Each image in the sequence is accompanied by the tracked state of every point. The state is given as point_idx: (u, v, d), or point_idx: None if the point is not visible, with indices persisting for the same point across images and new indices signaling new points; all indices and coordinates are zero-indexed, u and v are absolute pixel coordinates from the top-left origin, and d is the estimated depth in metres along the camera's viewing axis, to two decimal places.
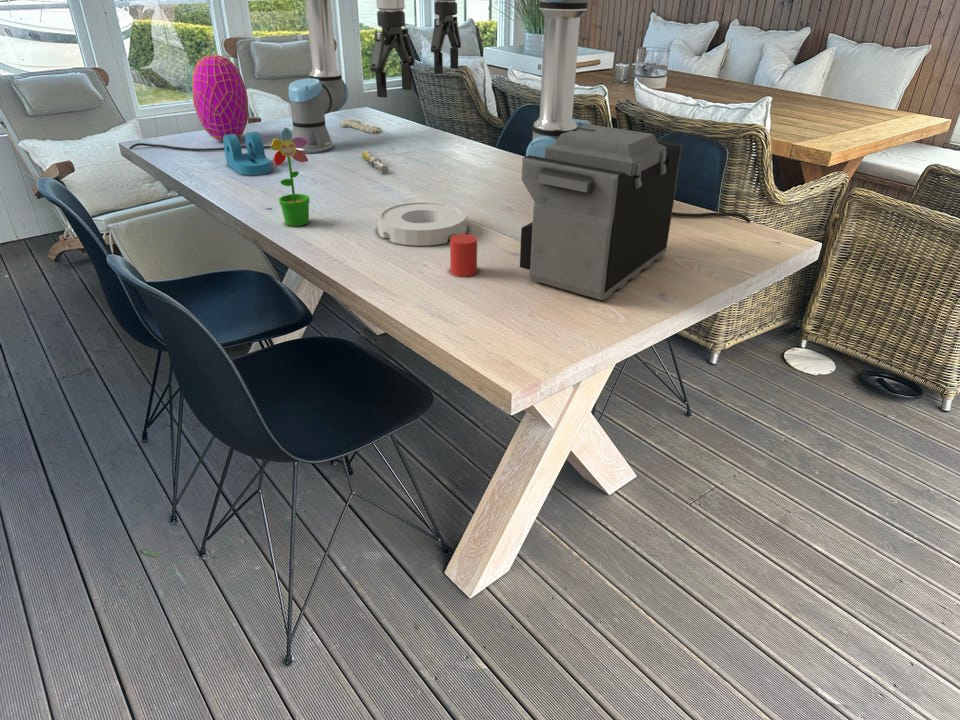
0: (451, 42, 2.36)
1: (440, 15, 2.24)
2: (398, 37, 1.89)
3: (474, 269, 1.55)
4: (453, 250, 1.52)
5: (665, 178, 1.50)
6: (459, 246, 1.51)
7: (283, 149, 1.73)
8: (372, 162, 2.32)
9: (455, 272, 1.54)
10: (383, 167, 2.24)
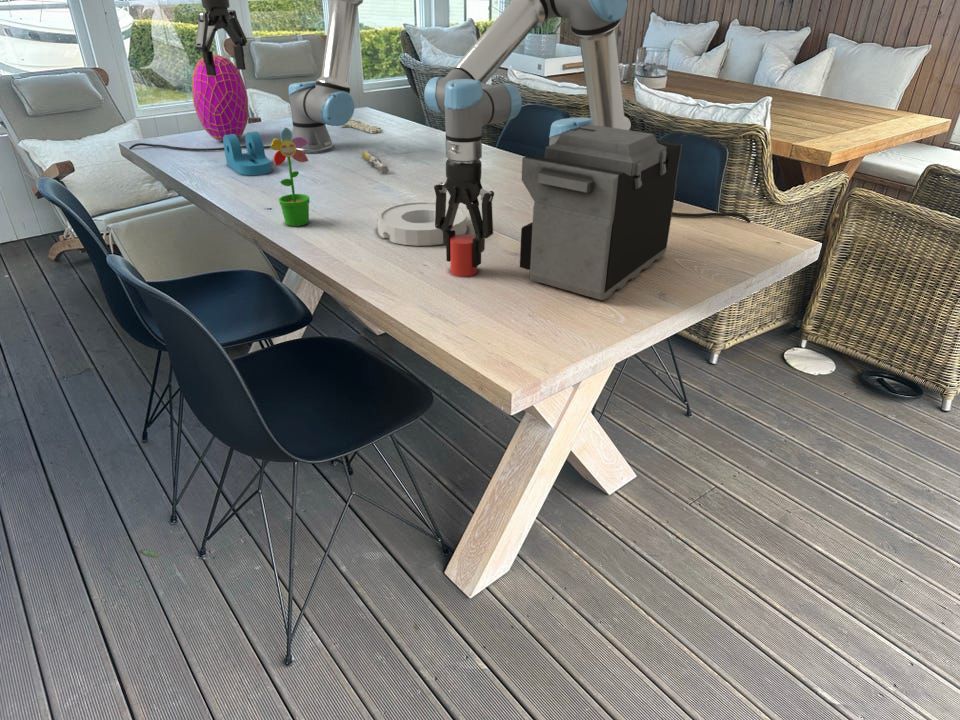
0: (233, 39, 2.08)
1: (206, 8, 1.96)
2: None
3: (474, 269, 1.55)
4: (453, 250, 1.52)
5: (665, 178, 1.50)
6: (459, 246, 1.51)
7: (283, 149, 1.73)
8: (372, 162, 2.32)
9: (455, 272, 1.54)
10: (383, 167, 2.24)
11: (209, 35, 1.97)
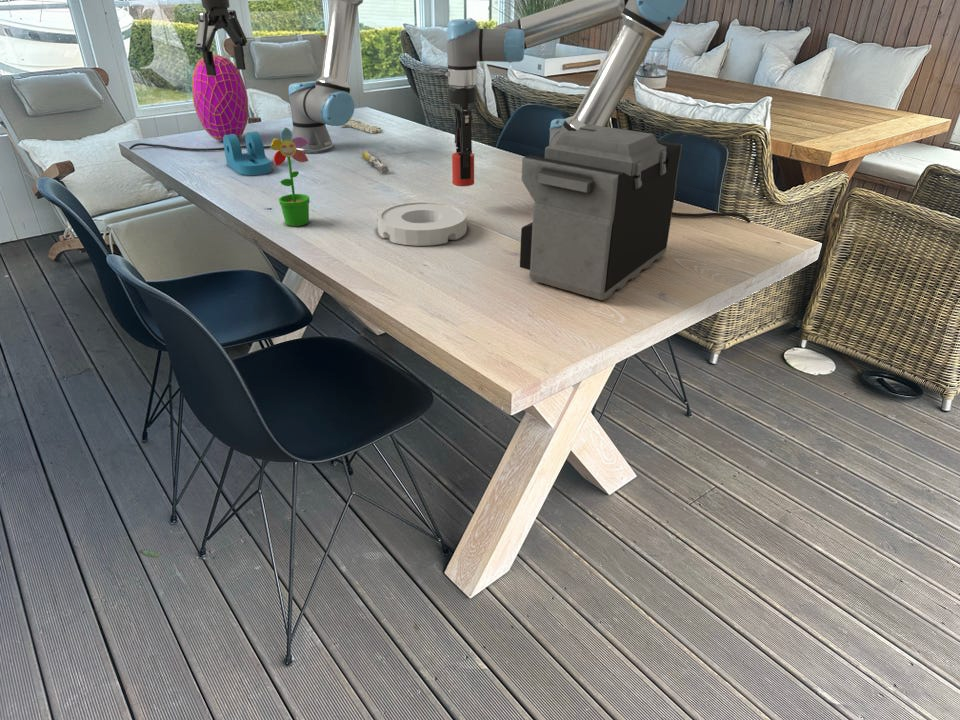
0: (233, 39, 2.08)
1: (206, 8, 1.96)
2: None
3: (463, 181, 1.87)
4: None
5: (665, 178, 1.50)
6: (452, 158, 1.86)
7: (283, 149, 1.73)
8: (372, 162, 2.32)
9: None
10: (383, 167, 2.24)
11: (209, 35, 1.97)
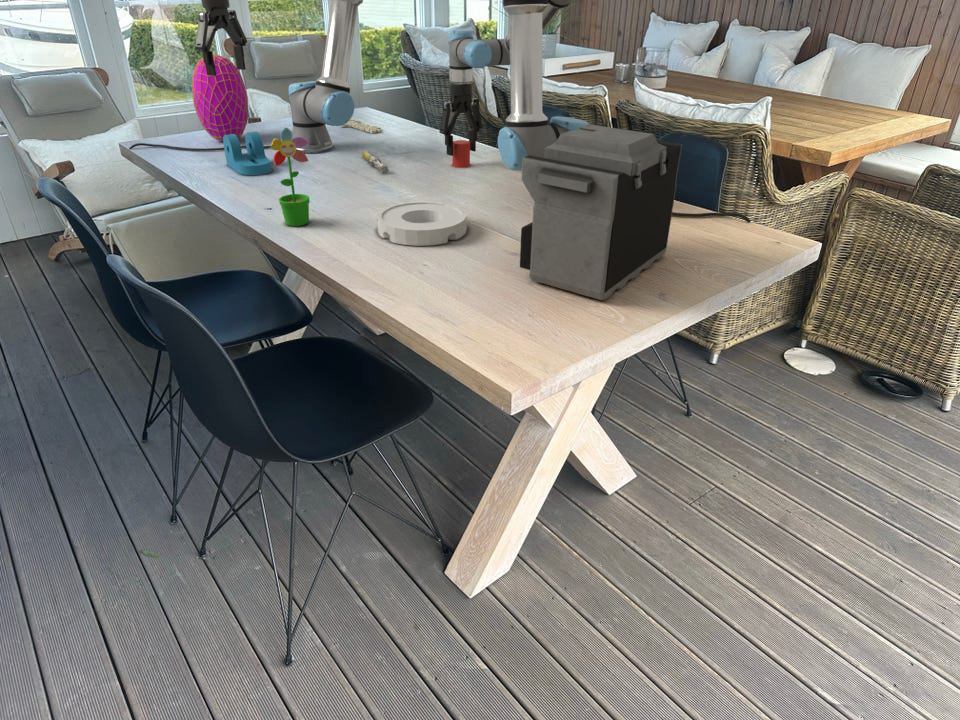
0: (233, 39, 2.08)
1: (206, 8, 1.96)
2: (465, 104, 2.25)
3: (453, 163, 2.34)
4: None
5: (665, 178, 1.50)
6: None
7: (283, 149, 1.73)
8: (372, 162, 2.32)
9: None
10: (383, 167, 2.24)
11: (209, 35, 1.97)
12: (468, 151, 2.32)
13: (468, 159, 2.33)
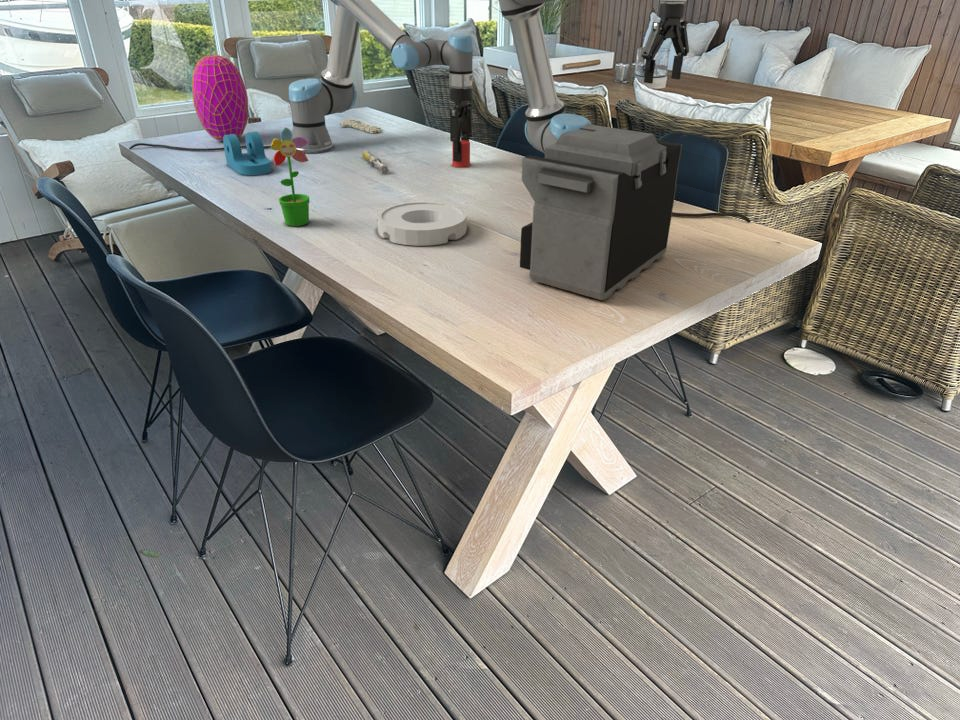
0: (462, 129, 2.33)
1: (455, 101, 2.22)
2: (675, 28, 2.02)
3: (453, 163, 2.34)
4: None
5: (665, 178, 1.50)
6: None
7: (283, 149, 1.73)
8: (372, 162, 2.32)
9: None
10: (383, 167, 2.24)
11: (458, 127, 2.26)
12: (468, 151, 2.32)
13: (468, 159, 2.33)
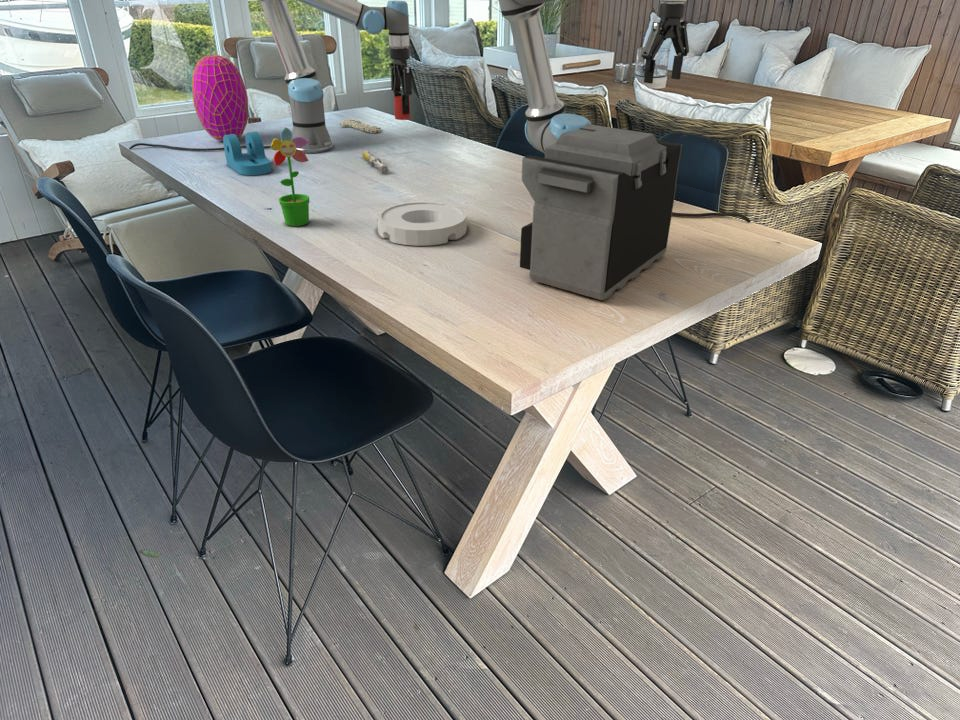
0: (396, 86, 2.64)
1: (403, 60, 2.54)
2: (675, 28, 2.02)
3: (401, 116, 2.65)
4: None
5: (665, 178, 1.50)
6: (394, 99, 2.64)
7: (283, 149, 1.73)
8: (372, 162, 2.32)
9: None
10: (383, 167, 2.24)
11: None
12: None
13: None
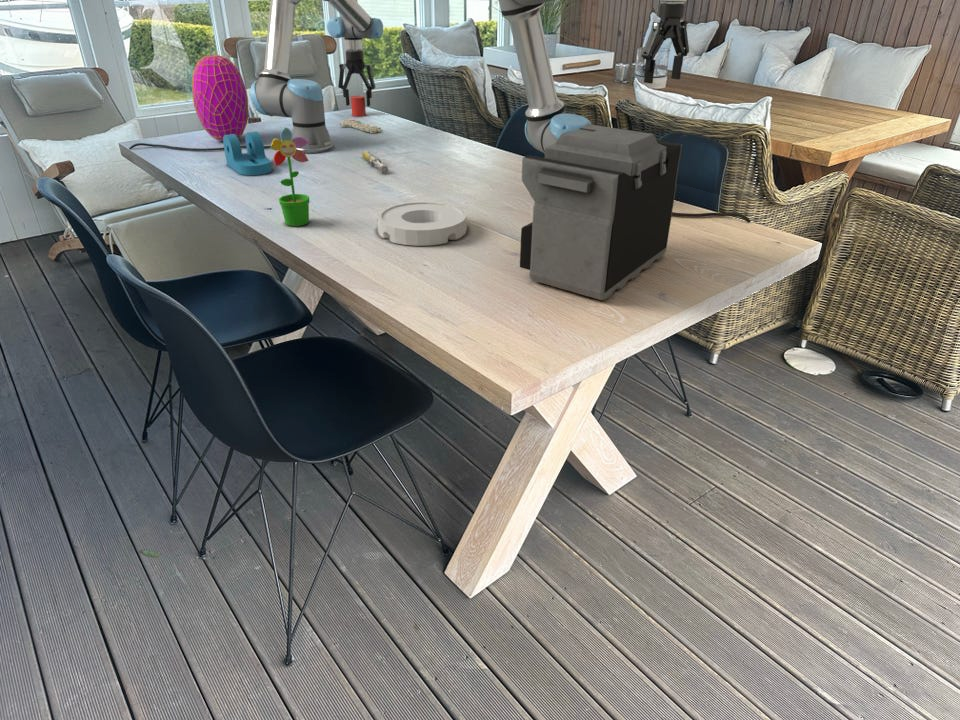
0: (347, 84, 3.01)
1: (363, 60, 2.95)
2: (675, 28, 2.02)
3: (363, 113, 3.05)
4: (351, 102, 3.03)
5: (665, 178, 1.50)
6: (353, 99, 3.01)
7: (283, 149, 1.73)
8: (372, 162, 2.32)
9: (353, 114, 3.05)
10: (383, 167, 2.24)
11: (366, 79, 3.00)
12: None
13: None
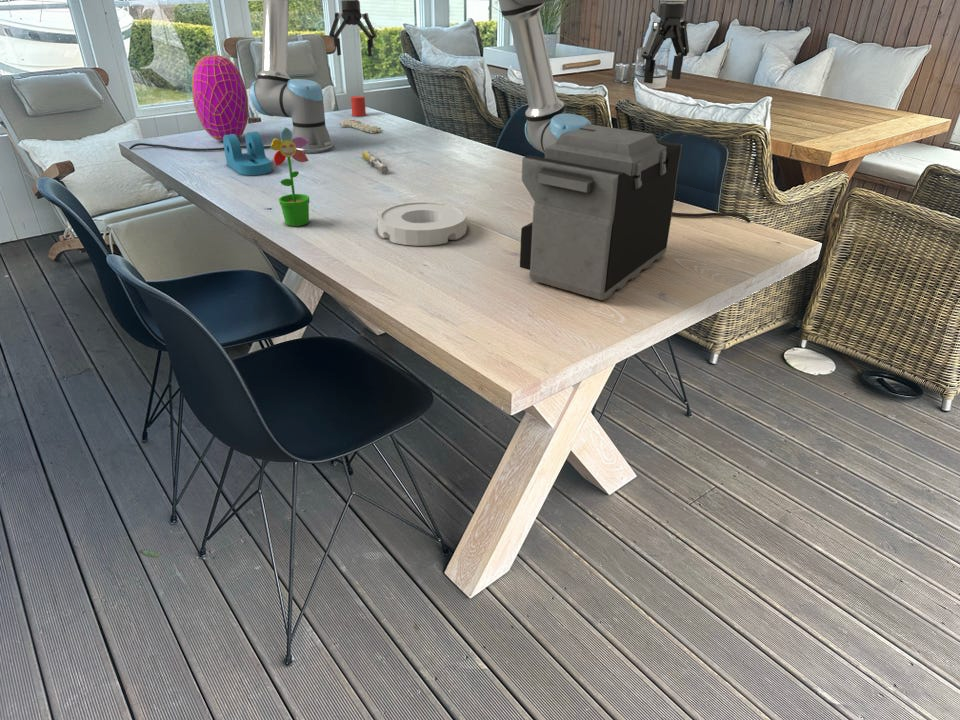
0: (338, 33, 2.91)
1: (359, 10, 2.85)
2: (675, 28, 2.02)
3: (363, 113, 3.05)
4: (351, 102, 3.03)
5: (665, 178, 1.50)
6: (353, 99, 3.01)
7: (283, 149, 1.73)
8: (372, 162, 2.32)
9: (353, 114, 3.05)
10: (383, 167, 2.24)
11: None
12: None
13: None
